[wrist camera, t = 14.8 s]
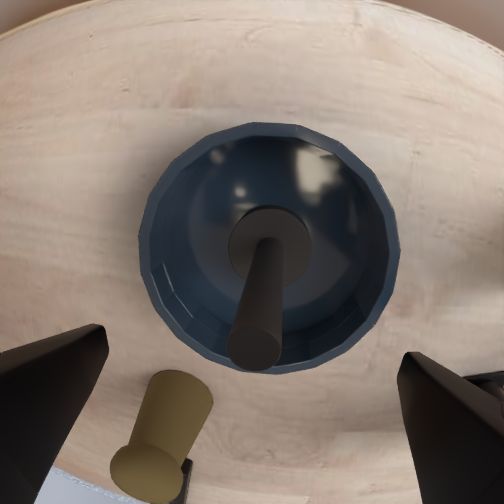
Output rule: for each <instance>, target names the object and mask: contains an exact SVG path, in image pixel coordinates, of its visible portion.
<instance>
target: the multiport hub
mask: <svg viewBox="0 0 504 504" xmlns="http://www.w3.org/2000/svg"><path fill="white" fill-rule="evenodd" d="M192 464H193V462H192V461H191V460H189V459H186V458H185V460H184V462H183V464H182V466H181V467H180V468H181V470H182V473H183V484H182V487H181V491H180V493H179V494H178V496H177V497H176V498H175V499H173V500H172V501H170V502H168V503H164V504H186V499H187V493H188V487H189V481H190V475H191V470H192ZM151 504H152V503H151Z"/></svg>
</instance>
